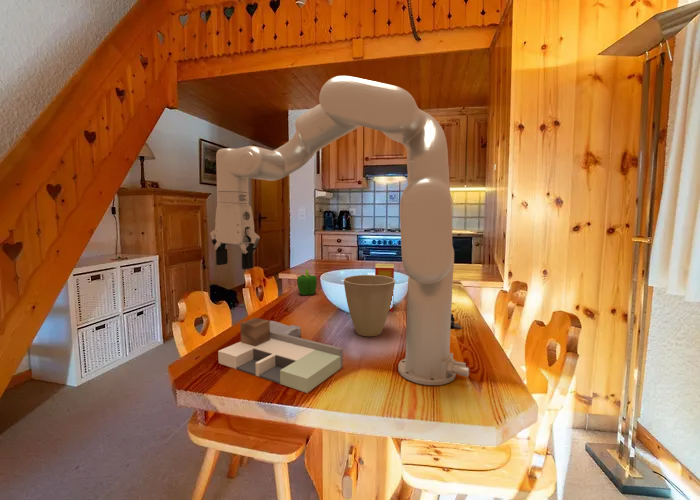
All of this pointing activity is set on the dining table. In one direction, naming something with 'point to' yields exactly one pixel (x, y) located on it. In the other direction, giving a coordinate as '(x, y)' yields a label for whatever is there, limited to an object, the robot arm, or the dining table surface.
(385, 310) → the plant pot
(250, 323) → the walnut cube
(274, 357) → the box
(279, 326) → the stone block
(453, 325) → the build plate
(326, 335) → the dining table surface
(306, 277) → the bell pepper
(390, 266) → the baking soda box
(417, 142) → the robot arm
